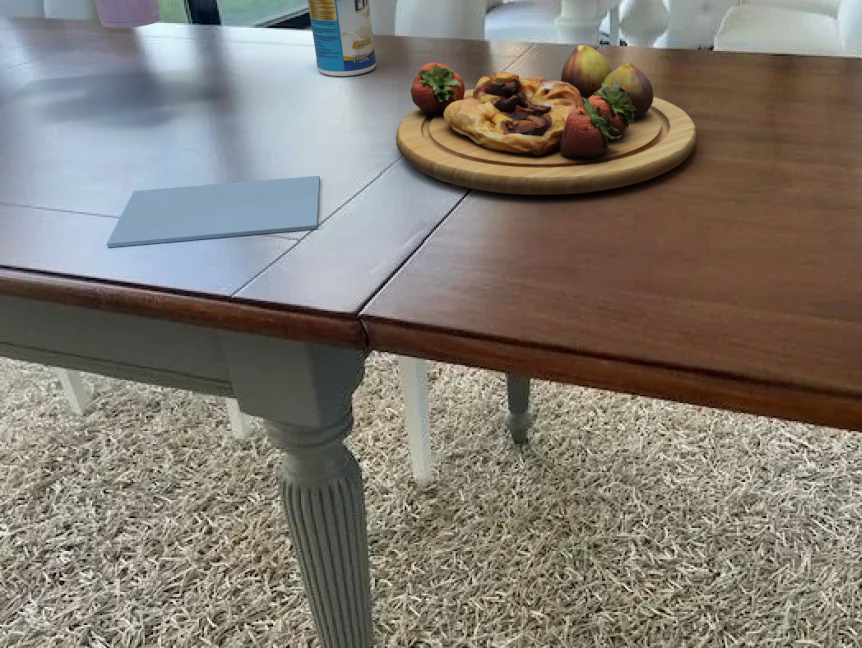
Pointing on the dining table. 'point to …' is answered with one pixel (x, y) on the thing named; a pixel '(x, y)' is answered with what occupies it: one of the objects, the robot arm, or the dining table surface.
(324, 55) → the beverage bottle
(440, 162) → the wooden plate
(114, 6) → the cup
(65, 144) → the dining table surface
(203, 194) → the light blue flat slab
